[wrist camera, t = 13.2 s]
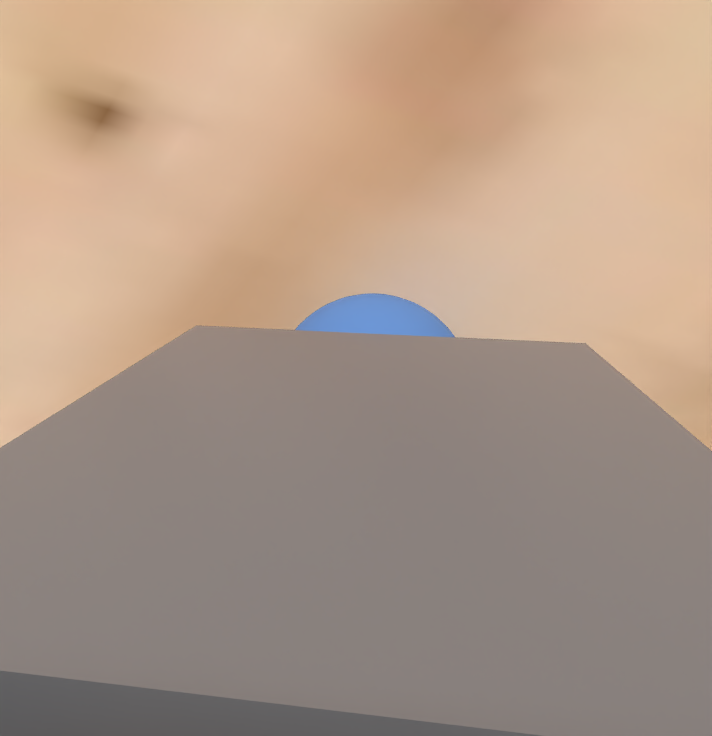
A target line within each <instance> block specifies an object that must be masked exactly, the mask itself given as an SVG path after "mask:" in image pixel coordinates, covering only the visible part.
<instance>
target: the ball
mask: <svg viewBox="0 0 712 736" xmlns="http://www.w3.org/2000/svg"><path fill="white" fill-rule="evenodd" d="M295 330H303V331H325V332H347V333H368V334H390V335H412V336H434V337H454V335H453V334H452V333H451V331H450V330H449V329H448V327H447V326H446V325H445V324H444V323H442V322H441V321H440V320H439V319H438V318H437V317H436V316H435V315H433V314H432V313H431V312H429V311H428V310H426V309H425V308H423V307H421V306H419V305H418V304H416V303H413V302H411V301H408V300H405V299H402V298H400V297H396V296H391V295H385V294H360V295H354V296H348V297H345V298H341V299H339V300H336V301H334V302H331V303H329V304H327V305H325V306H323V307H321V308H320V309H318V310H317V311H315V312H314V313H312V314H311V315H310V316H308V317H307V318H306V319H305V320H304V321H303V322H302V323H301V324H300V325H299V326H298V327H297V328H296V329H295Z"/></svg>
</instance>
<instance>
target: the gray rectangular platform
mask: <svg viewBox="0 0 712 736" xmlns="http://www.w3.org/2000/svg"><path fill="white" fill-rule="evenodd" d="M0 736H712V451H711V450H710V449H709V448H707V447H706V446H705V445H704V444H703V443H702V442H700V441H699V440H698V439H697V438H696V437H695V436H693V435H692V434H691V433H690V432H689V431H688V430H686V429H685V428H684V427H683V426H682V425H681V424H679V423H678V422H677V421H676V420H675V419H674V418H672V417H671V416H670V415H669V414H668V413H666V412H665V411H664V410H663V409H662V408H661V407H659V406H658V405H657V404H656V403H655V402H654V401H652V400H651V399H650V398H649V397H648V396H647V395H645V394H644V393H643V392H642V391H641V390H640V389H638V388H637V387H636V386H635V385H634V384H632V383H631V382H630V381H629V380H628V379H627V378H625V377H624V376H623V375H622V374H621V373H620V372H618V371H617V370H616V369H615V368H614V367H613V366H611V365H610V364H609V363H608V362H607V361H606V360H604V359H603V358H602V357H601V356H600V355H599V354H597V353H596V352H595V351H594V350H593V349H591V348H590V347H589V346H588V345H587V344H586V343H564V342H542V341H520V340H499V339H477V338H455V337H434V336H412V335H390V334H368V333H347V332H325V331H303V330H282V329H260V328H238V327H217V326H195V327H193V328H191V329H190V330H188V331H187V332H185V333H183V334H182V335H180V336H179V337H177V338H175V339H174V340H172V341H171V342H169V343H167V344H166V345H164V346H163V347H161V348H159V349H158V350H156V351H155V352H153V353H151V354H150V355H148V356H147V357H145V358H143V359H142V360H140V361H139V362H137V363H135V364H134V365H132V366H131V367H129V368H127V369H126V370H124V371H123V372H121V373H119V374H118V375H116V376H115V377H113V378H111V379H110V380H108V381H107V382H105V383H103V384H102V385H100V386H99V387H97V388H95V389H94V390H92V391H91V392H89V393H87V394H86V395H84V396H83V397H81V398H79V399H78V400H76V401H75V402H73V403H71V404H70V405H68V406H67V407H65V408H63V409H62V410H60V411H59V412H57V413H55V414H54V415H52V416H51V417H49V418H47V419H46V420H44V421H43V422H41V423H39V424H38V425H36V426H35V427H33V428H31V429H30V430H28V431H27V432H25V433H23V434H22V435H20V436H19V437H17V438H15V439H14V440H12V441H11V442H9V443H7V444H6V445H4V446H3V447H1V448H0Z"/></svg>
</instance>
